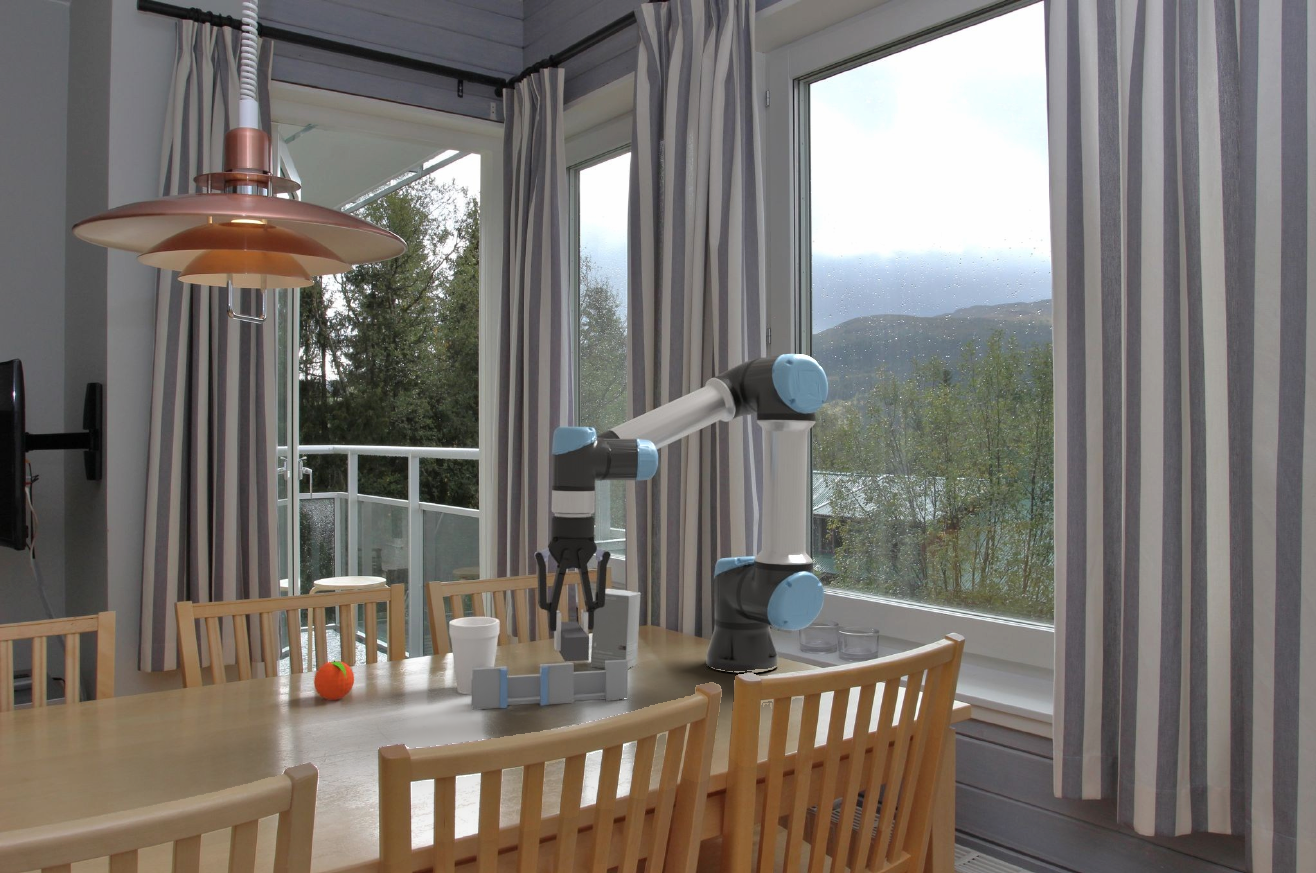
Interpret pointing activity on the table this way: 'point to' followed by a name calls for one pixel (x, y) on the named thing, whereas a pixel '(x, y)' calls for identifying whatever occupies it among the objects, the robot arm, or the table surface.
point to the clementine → (334, 680)
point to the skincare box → (616, 628)
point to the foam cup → (472, 647)
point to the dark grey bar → (574, 642)
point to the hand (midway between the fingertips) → (570, 648)
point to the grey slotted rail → (548, 685)
